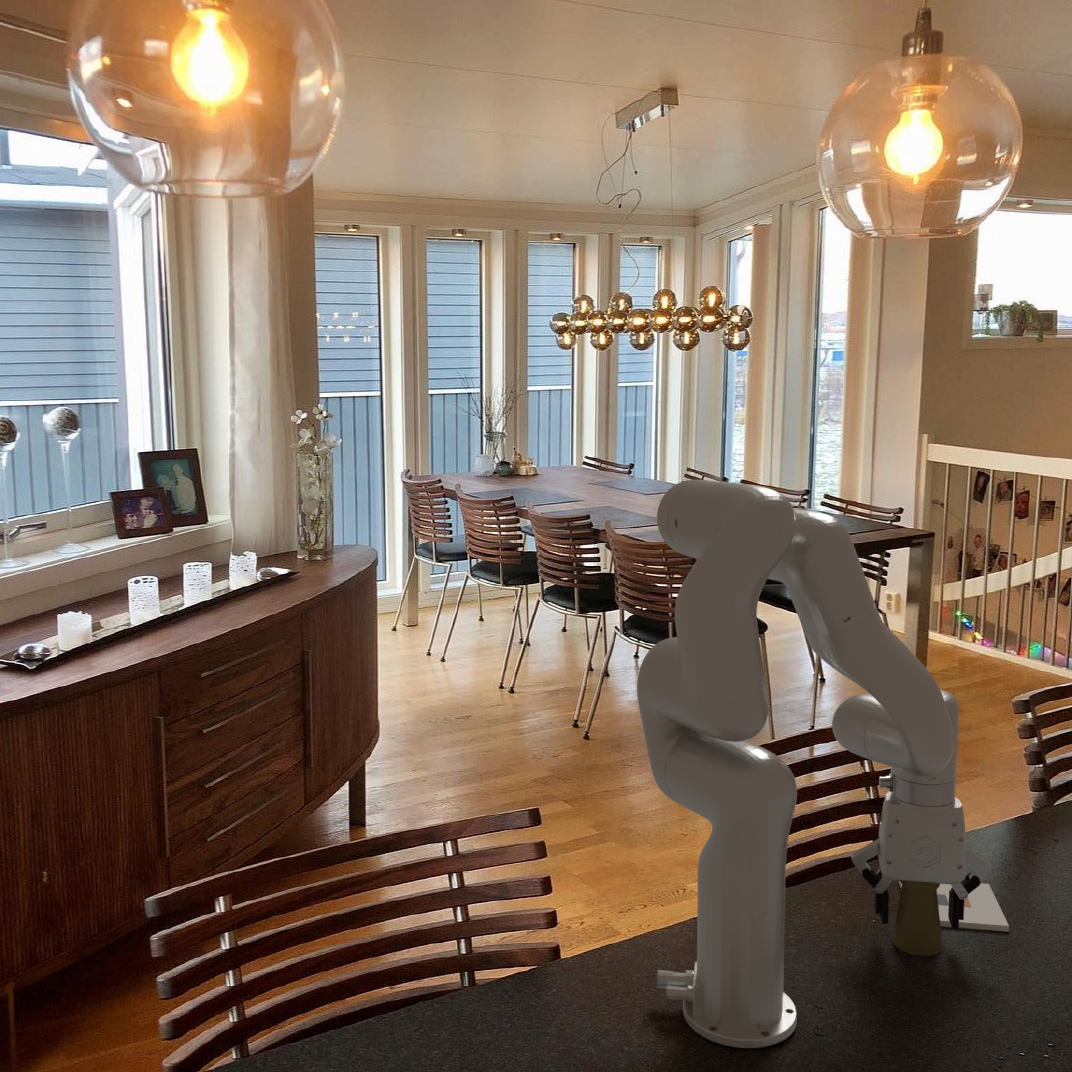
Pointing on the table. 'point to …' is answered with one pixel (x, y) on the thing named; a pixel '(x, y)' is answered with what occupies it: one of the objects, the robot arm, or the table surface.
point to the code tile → (973, 909)
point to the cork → (918, 919)
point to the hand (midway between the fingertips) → (918, 920)
